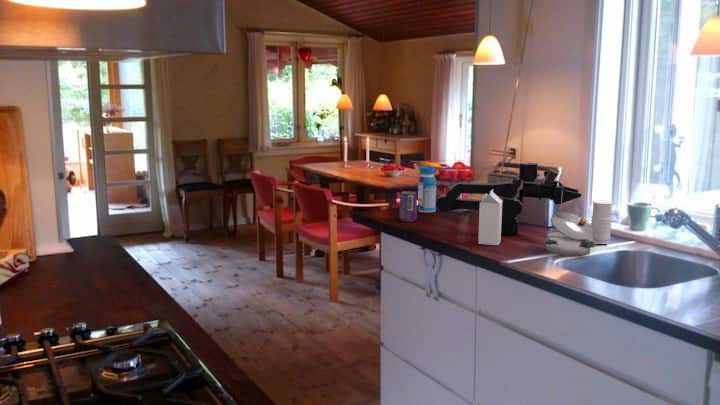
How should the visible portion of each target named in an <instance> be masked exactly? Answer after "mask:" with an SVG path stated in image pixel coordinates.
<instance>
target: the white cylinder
mask: <svg viewBox="0 0 720 405" xmlns="http://www.w3.org/2000/svg"><path fill="white" fill-rule="evenodd" d="M613 204H614V202H612V201H610V200H602V199H601V200H599V199H598V200H597V199H596V200H593V201H592V216H590V218H591V220H590V222H591V223H590V226H591V227H592V229H593V235H592V237H591V239H592V240H591V241H593V242H594V244H593V245H596V244H608V243H609V241H608V240H610V239H611V229H612V219H613V218H612V211H613V210H612V208H613ZM608 245H609V244H608Z"/></svg>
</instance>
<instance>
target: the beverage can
mask: <svg viewBox="0 0 720 405" xmlns="http://www.w3.org/2000/svg"><path fill="white" fill-rule="evenodd" d="M417 212H418V195H417V192H416V191H413V190H411V191H407V190H406V191H401V193H400V196H399V219H400V221H402V222H405V223H410V222H411V223H412V222H414V221H416V220H417V219H418V218H417V216H418V215H417V214H418V213H417Z"/></svg>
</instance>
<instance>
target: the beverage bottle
mask: <svg viewBox="0 0 720 405" xmlns="http://www.w3.org/2000/svg"><path fill="white" fill-rule="evenodd" d="M419 174H420V177H419V178H418V181H417V183H418V186H417V212H420V213H434V212H436V209H437V207H436V201H437V188H438V187H437V180H436V177H435V176H434V175H435V174H436V167H435V166H429V165H428V166H425V165H424V166H420V168H419Z"/></svg>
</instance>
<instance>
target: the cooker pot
mask: <svg viewBox="0 0 720 405" xmlns="http://www.w3.org/2000/svg"><path fill="white" fill-rule="evenodd" d="M591 239H592V238H590V239H589V240H586V241H579V240H574V239H571V238H569V237H567V236H565V235H563V234H561V233H560V232H559V231H556V232H551V233H548V234H547V238H546V240H544V244H545V245H546V251H547V252H549V253H551V254H555V255H560V256H568V257H583V256H587V255H589V254H590V252H591V251H590V250H591V249H592V248H594V245H595V244H594V242H593V241H592V240H591Z"/></svg>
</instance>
